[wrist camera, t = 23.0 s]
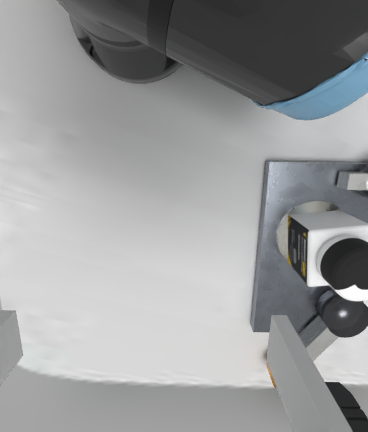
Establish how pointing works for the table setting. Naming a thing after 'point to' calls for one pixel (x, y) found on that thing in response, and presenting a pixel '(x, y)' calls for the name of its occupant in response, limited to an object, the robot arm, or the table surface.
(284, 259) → the dark grey base plate
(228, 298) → the table surface
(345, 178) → the knob
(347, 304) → the ball lever handle
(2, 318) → the robot arm
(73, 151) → the table surface
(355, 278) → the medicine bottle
